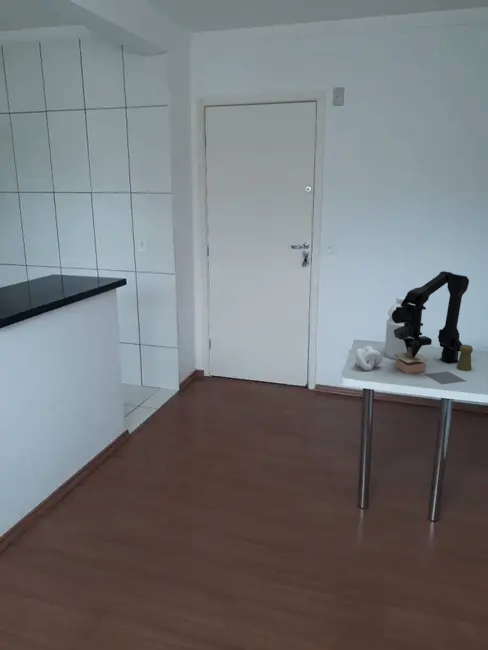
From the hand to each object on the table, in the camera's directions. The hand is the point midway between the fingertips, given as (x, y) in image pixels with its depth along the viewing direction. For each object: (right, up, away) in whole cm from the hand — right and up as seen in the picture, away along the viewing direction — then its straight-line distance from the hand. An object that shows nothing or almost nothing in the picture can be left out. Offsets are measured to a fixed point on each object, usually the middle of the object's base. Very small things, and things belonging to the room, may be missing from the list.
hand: (411, 355), depth 224 cm
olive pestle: (+24, -6, +2) cm, 25 cm away
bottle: (+1, -1, +21) cm, 21 cm away
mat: (+11, -9, -8) cm, 17 cm away
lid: (0, -1, 0) cm, 1 cm away
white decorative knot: (-19, -6, +5) cm, 20 cm away
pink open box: (0, -6, +2) cm, 7 cm away
